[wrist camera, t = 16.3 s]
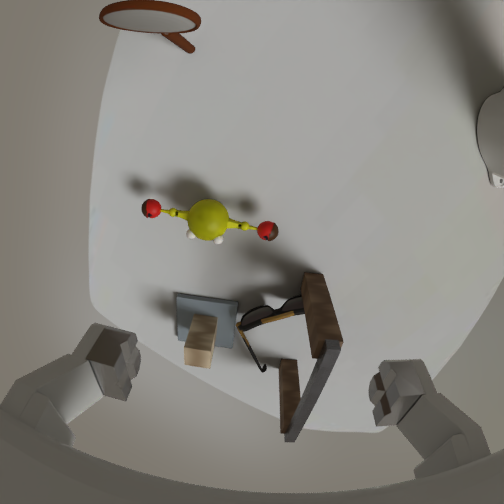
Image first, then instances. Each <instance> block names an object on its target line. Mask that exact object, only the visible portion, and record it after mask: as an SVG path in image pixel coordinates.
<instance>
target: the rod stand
mask: <svg viewBox="0 0 504 504" xmlns="http://www.w3.org/2000/svg"><path fill="white" fill-rule="evenodd" d="M301 294H302V299H303V305H304V311H305V317H306V323H307V329H308V335H309V341H310V348H311V354H312V358H316V359H318V357H319V354H320V352H321V349H322V346H323V344H324V341H325V339H330V340H339V344H340V348H341V346H342V344H343V338H342V335H341V331H340V328H339V324H338V321H337V318H336V314H335V311H334V307H333V304H332V301H331V298H330V294H329V291H328V288H327V285H326V282H325V278H324V275H323V274H315V273H307V272H304V277H303V281H302V285H301ZM279 392H280V429H281V433H284V434H285V432H286V430H287V428H288V426H289V424H290V422H291V419H292V417H293V415H294V413H295V411H296V409H297V406H298V404H299V402H300V400H301V398H300V387H299V376H298V366H297V360H288V359H281V363H280V366H279Z"/></svg>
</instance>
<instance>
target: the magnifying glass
mask: <svg viewBox="0 0 504 504" xmlns="http://www.w3.org/2000/svg"><path fill="white" fill-rule="evenodd" d="M99 19H100V21H101V22H102V23H103V24H105V25H107V26H110V27H113V28H117V29H122V30H128V31H136V32H145V33H161V34H162V35H163V36H164V37H166V38H167V39H169V40H170V41H172V42H173V43H174V44H176V45H177V46H179V47H180V48H182V49H183V50H184V51H186V52H187V53H193V52H194V51H195V47H194V46H193V45H192V44H191V43H190V42H189V41H187V40H186V39H185V38H184V37H183V36H182V35H180V34H179V33H187V32H192V31H195V30H197V29H198V28H199V26H200V24H201V18H200V16H199V15H198V14H197V13H196V12H194V11H192V10H190V9H188V8H186V7H183V6H180V5H177V4H173V3H169V2H163V1H155V0H128V1H121V2H117V3H113V4H110V5H108V6H106V7H104V8H103V9H102V11H101V12H100V15H99Z"/></svg>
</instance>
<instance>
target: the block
mask: <svg viewBox="0 0 504 504" xmlns="http://www.w3.org/2000/svg"><path fill="white" fill-rule="evenodd" d="M217 322H218V317H212V316H205V315H198V314H194V316H193V319H192V323H191V326H190V329H189V332H188V336H187V339H186V342H185V346H184V360H185V365H190V366H196V367H203V368H209V369H210V366H211V361H212V356H213V350H214V345H215V340H216V335H217Z"/></svg>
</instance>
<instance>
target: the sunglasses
mask: <svg viewBox="0 0 504 504" xmlns="http://www.w3.org/2000/svg"><path fill="white" fill-rule="evenodd" d="M301 314H305V311H304V305H303V299H302V295H300V296H295V297H293V298H290V299H288V300H287V301H286V302H285V303H284V304H283V305H282V307H281V308H279V309H275V310H274V309H273V308H271V307H270V306H268V305H266V306H260V307H257V308H254V309H252V310H250V311H248V312H247V313H245V314H244V315H243V316H242V319H241V321H240V322H238V323H237V324H236V327H237V329H238V331H239V333H240V334H241V336H242V338H243V340H244V342H245V344H246V346H247V347H248V349H249V351H250V353H251V355H252V356H253V358H254V360H255V362H256V364H257V365H258V367H259V369H260V370H261V372H262V373H263V372H265V371H266V369H267V366H266V364H264V366H263V368H261V366H260V364H259V362H258V360H257V358H256V356H255V354H254V352H253V350H252V348H251V346H250V345H249V343H248V341H247V339H246V337H245V335H244V333H243V331H248V330H250V329H252V328H254V327H257V326H259V325H262V324H264V323H268V322H272V321H276V320H280V319H284V318H287V317H290V316H295V315H301Z"/></svg>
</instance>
